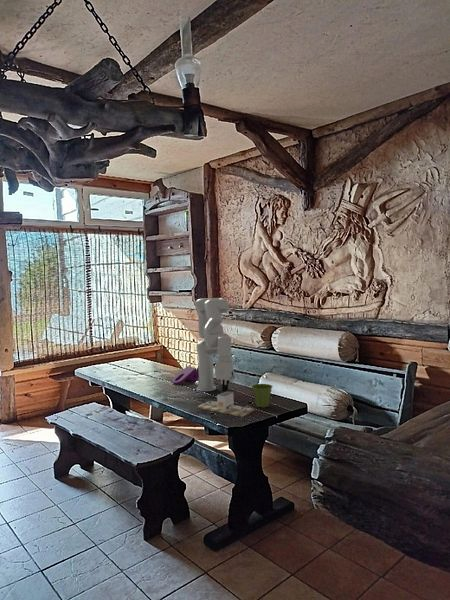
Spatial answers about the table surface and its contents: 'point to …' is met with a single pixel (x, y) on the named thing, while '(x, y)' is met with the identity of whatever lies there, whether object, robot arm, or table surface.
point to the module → (225, 400)
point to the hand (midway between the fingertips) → (225, 391)
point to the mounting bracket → (186, 375)
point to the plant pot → (262, 394)
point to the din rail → (227, 406)
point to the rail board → (227, 410)
